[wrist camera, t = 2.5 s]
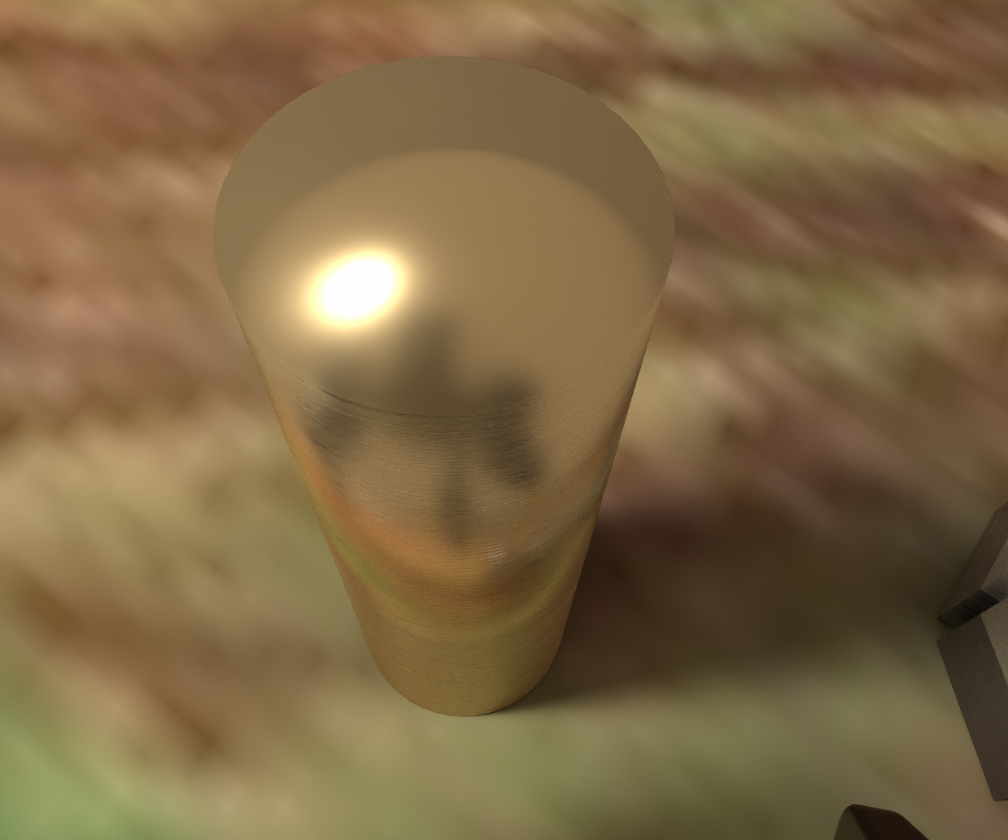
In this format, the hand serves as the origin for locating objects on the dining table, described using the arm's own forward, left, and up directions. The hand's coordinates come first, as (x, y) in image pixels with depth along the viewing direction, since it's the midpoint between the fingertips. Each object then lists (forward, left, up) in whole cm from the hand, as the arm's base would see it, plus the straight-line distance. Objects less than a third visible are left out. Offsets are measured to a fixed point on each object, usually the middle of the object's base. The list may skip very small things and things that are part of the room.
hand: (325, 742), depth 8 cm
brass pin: (+4, -2, -11) cm, 12 cm away
